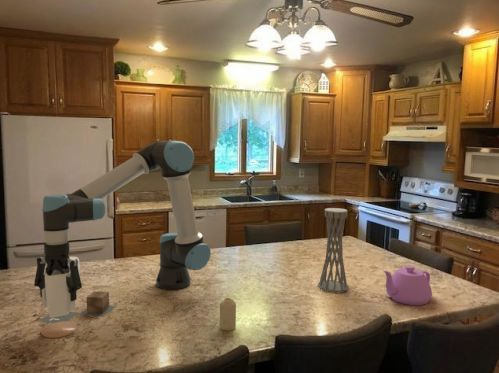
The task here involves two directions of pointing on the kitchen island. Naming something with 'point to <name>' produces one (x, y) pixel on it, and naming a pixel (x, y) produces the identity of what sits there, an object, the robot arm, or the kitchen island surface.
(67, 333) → the salmon round part
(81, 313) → the code tile
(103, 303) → the walnut block
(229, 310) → the candle
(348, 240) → the kitchen island surface
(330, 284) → the grey lattice tower
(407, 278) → the teapot
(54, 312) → the cup
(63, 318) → the code tile
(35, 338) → the kitchen island surface
